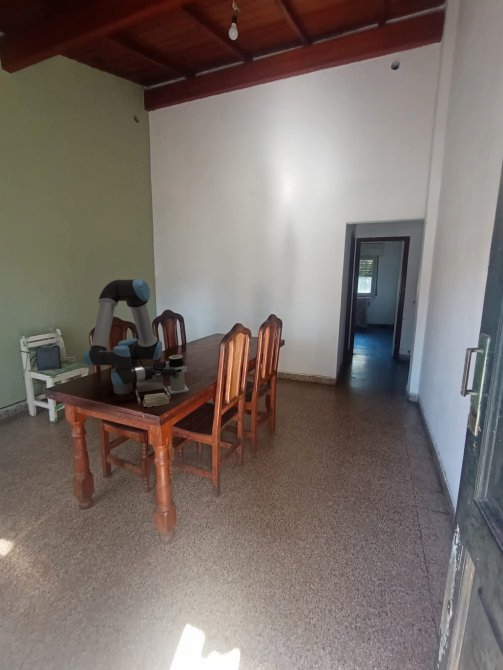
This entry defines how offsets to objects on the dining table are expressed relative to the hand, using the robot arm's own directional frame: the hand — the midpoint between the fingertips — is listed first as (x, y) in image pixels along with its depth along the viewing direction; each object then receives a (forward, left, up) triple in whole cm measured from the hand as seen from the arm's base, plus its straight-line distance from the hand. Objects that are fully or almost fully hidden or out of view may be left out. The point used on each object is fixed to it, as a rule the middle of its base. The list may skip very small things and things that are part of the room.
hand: (181, 366), depth 187 cm
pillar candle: (-8, -31, -13) cm, 35 cm away
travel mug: (+1, -3, -12) cm, 13 cm away
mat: (+1, -3, -13) cm, 13 cm away
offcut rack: (+6, -17, -13) cm, 22 cm away
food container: (-21, 0, -13) cm, 25 cm away
